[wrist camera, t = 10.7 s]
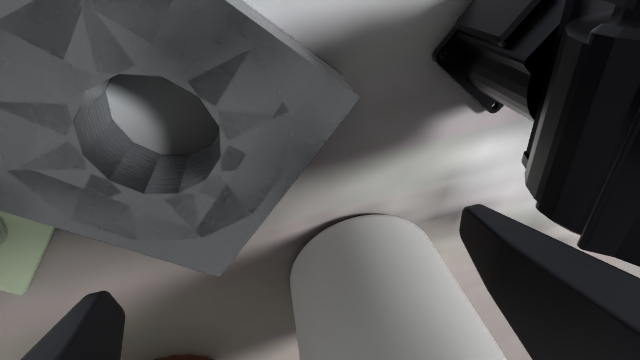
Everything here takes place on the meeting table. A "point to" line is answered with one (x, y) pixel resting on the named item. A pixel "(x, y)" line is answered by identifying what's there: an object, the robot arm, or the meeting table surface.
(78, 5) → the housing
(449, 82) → the meeting table surface
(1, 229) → the silver upright cylinder
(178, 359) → the food container
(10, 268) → the mat
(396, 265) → the cylinder vase
